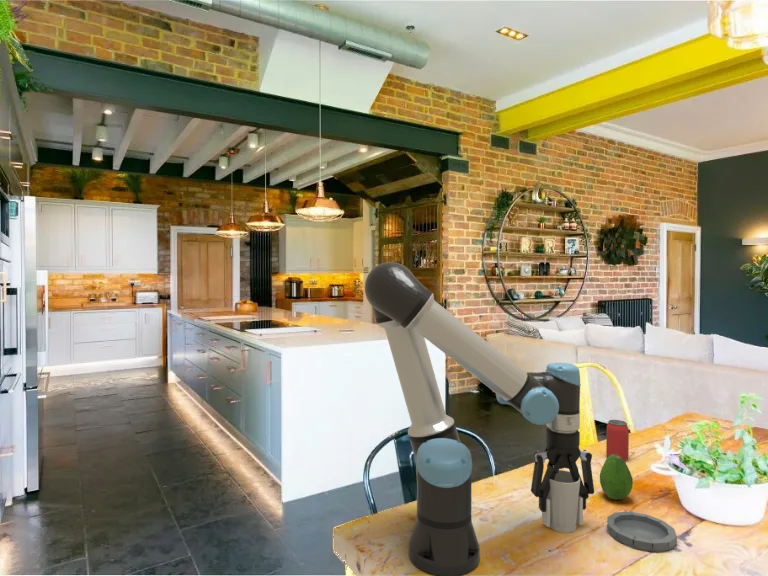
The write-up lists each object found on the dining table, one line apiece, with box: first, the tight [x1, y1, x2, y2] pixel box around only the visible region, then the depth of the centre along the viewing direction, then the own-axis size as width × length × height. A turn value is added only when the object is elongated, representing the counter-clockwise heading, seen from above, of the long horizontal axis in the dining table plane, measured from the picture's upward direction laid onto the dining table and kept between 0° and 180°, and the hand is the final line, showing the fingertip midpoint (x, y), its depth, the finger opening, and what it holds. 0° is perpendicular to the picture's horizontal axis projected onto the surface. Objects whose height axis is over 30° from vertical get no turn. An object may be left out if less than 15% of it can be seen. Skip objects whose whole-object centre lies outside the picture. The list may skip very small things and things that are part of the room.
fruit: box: [599, 454, 634, 501], centre depth 131 cm, size 8×8×12 cm
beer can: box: [605, 419, 630, 462], centre depth 160 cm, size 7×7×12 cm
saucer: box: [606, 511, 678, 553], centre depth 113 cm, size 14×14×2 cm
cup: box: [547, 469, 580, 534], centre depth 117 cm, size 8×8×12 cm
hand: (562, 523), depth 117 cm, fingers closed on cup, 7 cm apart
